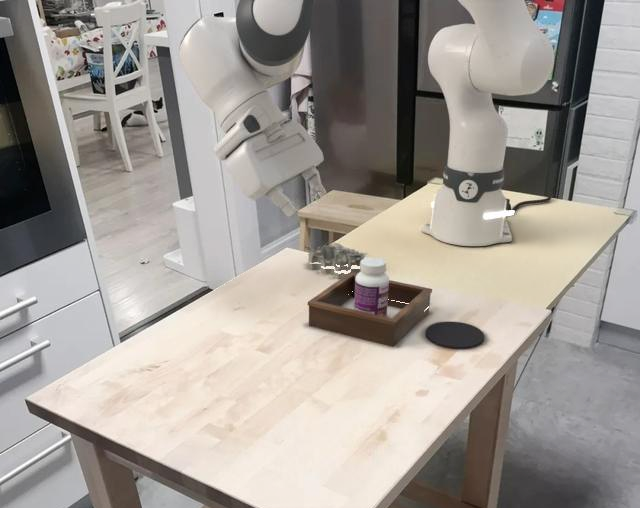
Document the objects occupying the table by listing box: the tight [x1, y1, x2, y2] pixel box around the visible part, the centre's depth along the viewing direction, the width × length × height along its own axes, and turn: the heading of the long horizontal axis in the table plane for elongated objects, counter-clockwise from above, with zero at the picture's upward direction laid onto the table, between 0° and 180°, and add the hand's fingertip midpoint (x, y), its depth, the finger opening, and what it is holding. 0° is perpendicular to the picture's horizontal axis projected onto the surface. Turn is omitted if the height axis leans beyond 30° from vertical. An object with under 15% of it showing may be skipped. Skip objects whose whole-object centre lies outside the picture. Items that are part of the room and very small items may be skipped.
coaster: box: [425, 321, 485, 350], centre depth 111 cm, size 9×9×1 cm
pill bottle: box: [353, 257, 390, 317], centre depth 113 cm, size 5×5×10 cm
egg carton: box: [304, 242, 369, 280], centre depth 133 cm, size 11×8×4 cm
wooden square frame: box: [307, 272, 433, 347], centre depth 115 cm, size 15×15×4 cm
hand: (308, 205), depth 111 cm, fingers open, 8 cm apart
